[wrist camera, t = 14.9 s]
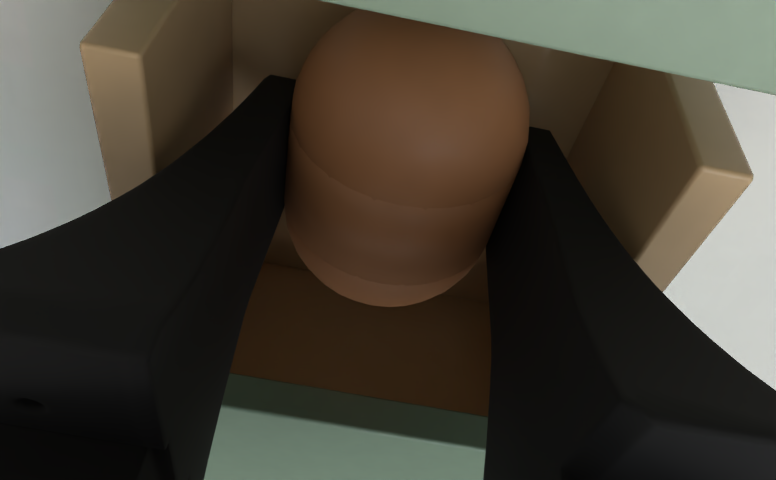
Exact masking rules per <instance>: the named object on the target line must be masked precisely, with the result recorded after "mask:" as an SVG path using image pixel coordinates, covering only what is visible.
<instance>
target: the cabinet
mask: <svg viewBox="0 0 776 480" xmlns="http://www.w3.org/2000/svg"><path fill="white" fill-rule="evenodd" d="M487 426H488V416H483V415H477V414H471V413H465V412H459V411H453V410H447V409H442V408H436V407H430V406H424V405H418V404H412V403H406V402H400V401H394V400H388V399H383V398H377V397H371V396H365V395H359V394H353V393H347V392H341V391H335V390H330V389H324V388H318V387H312V386H306V385H300V384H294V383H288V382H282V381H276V380H271V379H265V378H259V377H253V376H247V375H241V374H235V373H229V377H228V381H227V385H226V389H225V393H224V397H223V401H222V405H221V409H220V413H219V417H218V421H217V426H216V430H215V434H214V438H213V442H212V446H211V450H210V455H209V459H208V463H207V468H206V472H205V477H204V480H483V476H484V464H485V453H486V440H487Z"/></svg>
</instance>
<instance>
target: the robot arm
mask: <svg viewBox="0 0 776 480" xmlns="http://www.w3.org/2000/svg"><path fill="white" fill-rule="evenodd" d="M295 83H296V79H291V78H286V77H281V76H276V75H271V74H270V75H269V76H267V77H266V78H264V79H263V80H262V82H261V83H260V84H259V85H258V86H257V87H256V88H255V89H254V90H253V91H252V92H251V94H250V95H249V96H248V97H247V98H246V99H245V100H244V101H243V102H242V103H241V104H240V105H239V106H238V107H237V108H236V109H235V110H234V111H233V112H232V113H231V114H230V115H228V116H227V117H226V118H225V119H224V120H223V121H222V122H221V123H220V124H219V125H218V126H216V127H215V128H214V129H213V130H212V131H211V132H210V133H209V134H208V135H206V136H205V137H204V138H203V139H202V140H200V141H199V142H198V143H197V144H195V145H194V146H193V147H192V148H190V149H189V150H188V151H187V152H185V153H184V154H183V155H182V156H180V157H179V158H178V159H176V160H175V161H174V162H172V163H171V164H170V165H168V166H167V167H165V168H164V169H163V170H161V171H160V172H158V173H157V174H155V175H154V176H152V177H151V178H149V179H148V180H146V181H144V182H143V183H141V184H140V185H138V186H137V187H135V188H133V189H132V190H130V191H128V192H126V193H125V194H123V195H121V196H119V197H118V198H116V199H114V200H112V201H110V202H108V203H107V204H105V205H103V206H101V207H99V208H97V209H95V210H93V211H91V212H89V213H87V214H85V215H83V216H81V217H79V218H76V219H74V220H72V221H70V222H68V223H66V224H63V225H61V226H58V227H56V228H54V229H51V230H49V231H47V232H44V233H42V234H39V235H37V236H34V237H32V238H29V239H26V240H24V241H21V242H18V243H15V244H12V245H9V246H6V247H4V248H1V249H0V480H204V477H205V472H206V468H207V463H208V459H209V455H210V450H211V446H212V442H213V438H214V434H215V430H216V426H217V421H218V417H219V413H220V409H221V405H222V401H223V397H224V393H225V389H226V385H227V381H228V377H229V373H230V369H231V365H232V361H233V357H234V353H235V349H236V346H237V342H238V338H239V334H240V330H241V327H242V323H243V319H244V315H245V312H246V309H247V306H248V303H249V300H250V297H251V294H252V291H253V288H254V286H255V283H256V280H257V278H258V275H259V273H260V270H261V267H262V265H263V262H264V259H265V257H266V254H267V252H268V249H269V246H270V244H271V241H272V239H273V236H274V233H275V231H276V228H277V225H278V223H279V220H280V217H281V215H282V212H283V209H284V206H285V204H284V193H285V179H286V165H287V151H288V137H289V123H290V112H291V105H292V100H293V93H294V88H295ZM486 263H487V280H488V296H489V312H490V328H491V374H490V394H489V411H488V426H487V440H486V453H485V464H484V476H483V480H776V391H775V390H774V389H773V388H771V387H770V386H769V385H767V384H766V383H765V382H763V381H762V380H761V379H759V378H758V377H757V376H755V375H754V374H752V373H751V372H750V371H748V370H747V369H746V368H745V367H743V366H742V365H741V364H740V363H738V362H737V361H736V360H735V359H734V358H732V357H731V356H730V355H729V354H728V353H727V352H725V351H724V350H723V349H722V348H721V347H719V346H718V345H717V344H716V343H715V342H713V341H712V340H711V339H710V338H709V337H708V336H707V335H706V334H705V333H703V332H702V331H701V330H700V329H699V328H698V327H697V326H696V325H695V324H694V323H692V322H691V321H690V320H689V319H688V318H687V317H686V316H685V315H684V314H683V313H682V312H681V311H680V310H679V309H678V308H677V307H676V306H675V305H674V304H673V303H672V302H671V301H670V300H669V299H668V298H667V297H666V296H665V295H664V294H663V293H662V291H661V290H660V289H659V288H658V287H657V286H656V285H655V284H654V283H653V282H652V281H651V279H650V278H649V277H648V276H647V275H646V274H645V272H644V271H643V270H642V269H641V268H640V267H639V265H638V264H637V263H636V262H635V261H634V260H633V258H632V257H631V256H630V255H629V253H628V252H627V251H626V250H625V248H624V247H623V246H622V244H621V243H620V242H619V240H618V239H617V237H616V236H615V235H614V233H613V232H612V231H611V229H610V228H609V226H608V225H607V224H606V222H605V221H604V219H603V218H602V216H601V215H600V213H599V212H598V210H597V209H596V207H595V206H594V204H593V203H592V201H591V200H590V198H589V196H588V195H587V193H586V192H585V190H584V188H583V187H582V185H581V184H580V182H579V180H578V179H577V177H576V175H575V173H574V172H573V170H572V168H571V167H570V165H569V163H568V161H567V160H566V158H565V156H564V154H563V153H562V151H561V149H560V147H559V146H558V144H557V142H556V140H555V138H554V137H553V135H552V133H551V132H550V130H545V129H540V128H535V127H530V126H529V136H528V143H527V147H526V150H525V154H524V157H523V160H522V164H521V166H520V169H519V171H518V173H517V176H516V178H515V180H514V183H513V185H512V187H511V190H510V192H509V194H508V197H507V199H506V201H505V204H504V206H503V208H502V210H501V213H500V215H499V217H498V220H497V222H496V224H495V227H494V229H493V231H492V234H491V236H490V238H489V241H488V243H487V245H486Z"/></svg>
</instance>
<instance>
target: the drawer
mask: <svg viewBox="0 0 776 480" xmlns="http://www.w3.org/2000/svg"><path fill="white" fill-rule="evenodd" d="M357 9H363V10H368V11H373V12H377V13H382V14H387V15H392V16H397V17H401V18H406V19H411V20H416V21H421V22H426V23H430V24H435V25H440V26H445V27H450V28H454V29H459V30H464V31H469V32H474V33H479V34H483V35H488V36H493V37H498V38H500V39H501V40H502V41H503V42H504V43H505V45H506V46H507V47H508V48H509V50H510V52H511V53H512V55H513V57H514V59H515V61H516V63H517V65H518V67H519V69H520V71H521V73H522V75H523V78H524V82H525V86H526V91H527V96H528V101H529V106H530V118H529V126H530V127H535V128H540V129H545V130H550V132H551V133H552V135H553V137H554V138H555V140H556V142H557V144H558V146H559V147H560V149H561V151H562V153H563V154H564V156H565V158H566V160H567V161H568V163H569V165H570V167H571V168H572V170H573V172H574V173H575V175H576V177H577V179H578V180H579V182H580V184H581V185H582V187H583V188H584V190H585V192H586V193H587V195H588V196H589V198H590V200H591V201H592V203H593V204H594V206H595V207H596V209H597V210H598V212H599V213H600V215H601V216H602V218H603V219H604V221H605V222H606V224H607V225H608V226H609V228H610V229H611V231H612V232H613V233H614V235H615V236H616V237H617V239H618V240H619V242H620V243H621V244H622V246H623V247H624V248H625V250H626V251H627V252H628V253H629V255H630V256H631V257H632V258H633V260H634V261H635V262H636V263H637V264H638V265H639V267H640V268H641V269H642V270H643V271H644V272H645V274H646V275H647V276H648V277H649V278H650V279H651V281H652V282H653V283H654V284H655V285H656V286H657V287H658V288H659V289H660V290H661V291H662V292H663V291H664V290H665V289H666V288H667V286H668V285H669V284H670V283H671V281H672V280H673V279H674V278H675V276H676V275H677V274H678V273H679V271H680V270H681V269H682V268H683V266H684V265H685V264H686V263H687V261H688V260H689V259H690V258H691V256H692V255H693V254H694V253H695V252H696V250H697V249H698V248H699V247H700V245H701V244H702V243H703V242H704V240H705V239H706V238H707V237H708V235H709V234H710V233H711V232H712V230H713V229H714V228H715V227H716V225H717V224H718V223H719V222H720V220H721V219H722V218H723V217H724V216H725V214H726V213H727V212H728V211H729V209H730V208H731V207H732V206H733V204H734V203H735V202H736V201H737V199H738V198H739V197H740V196H741V194H742V193H743V192H744V191H745V189H746V188H747V187H748V186H749V184H750V183H751V182H752V180H753V173H752V171H751V169H750V166H749V164H748V162H747V159H746V157H745V155H744V153H743V150H742V148H741V146H740V143H739V141H738V139H737V136H736V134H735V132H734V130H733V127H732V125H731V123H730V120H729V118H728V116H727V113H726V111H725V109H724V107H723V104H722V102H721V100H720V97H719V95H718V93H717V91H716V88H715V86H714V84H713V82H715V83H720V84H724V85H729V86H734V87H739V88H744V89H748V90H753V91H758V92H763V93H768V94H773V95H776V0H113V1H112V3H111V4H110V5H109V6H108V8H107V9H106V10H105V11H104V13H103V14H102V15H101V17H100V18H99V19H98V20H97V22H96V23H95V24H94V25H93V27H92V28H91V29H90V30H89V32H88V33H87V34H86V36H85V37H84V38H83V39H82V41H81V42H80V51H81V56H82V61H83V66H84V71H85V75H86V80H87V85H88V90H89V95H90V99H91V104H92V109H93V114H94V119H95V123H96V128H97V133H98V138H99V143H100V147H101V152H102V157H103V162H104V167H105V171H106V176H107V181H108V186H109V191H110V195H111V200H114V199H116V198H118V197H119V196H121V195H123V194H125V193H126V192H128V191H130V190H132V189H133V188H135V187H137V186H138V185H140V184H141V183H143V182H144V181H146V180H148V179H149V178H151V177H152V176H154V175H155V174H157V173H158V172H160V171H161V170H163V169H164V168H165V167H167V166H168V165H170V164H171V163H172V162H174V161H175V160H176V159H178V158H179V157H180V156H182V155H183V154H184V153H185V152H187V151H188V150H189V149H190V148H192V147H193V146H194V145H195V144H197V143H198V142H199V141H200V140H202V139H203V138H204V137H205V136H206V135H208V134H209V133H210V132H211V131H212V130H213V129H214V128H215V127H216V126H218V125H219V124H220V123H221V122H222V121H223V120H224V119H225V118H226V117H227V116H228V115H230V114H231V113H232V112H233V111H234V110H235V109H236V108H237V107H238V106H239V105H240V104H241V103H242V102H243V101H244V100H245V99H246V98H247V97H248V96H249V95H250V94H251V92H252V91H253V90H254V89H255V88H256V87H257V86H258V85H259V84H260V83H261V82H262V80H263V79H264V78H266V77H267V76H269V75H270V74H271V75H276V76H281V77H286V78H291V79H297V77H298V75H299V73H300V71H301V69H302V67H303V64H304V62H305V60H306V58H307V57H308V55H309V53H310V51H311V50H312V48H313V47H314V46H315V45H316V43H317V42H318V41H319V40H320V39H321V37H322V36H323V35H324V34H325V33H326V32H327V31H328V30H329V29H330V28H331V27H332V26H333V25H335V24H336V23H337V22H339V21H340V20H342V19H343V18H344V17H346V16H347V15H349V14H350V13H352V12H354V11H355V10H357ZM230 373H235V374H241V375H247V376H253V377H259V378H265V379H271V380H276V381H282V382H288V383H294V384H300V385H306V386H312V387H318V388H324V389H330V390H335V391H341V392H347V393H353V394H359V395H365V396H371V397H377V398H383V399H388V400H394V401H400V402H406V403H412V404H418V405H424V406H430V407H436V408H442V409H447V410H453V411H459V412H465V413H471V414H477V415H483V416H488V411H489V394H490V374H491V328H490V312H489V296H488V280H487V263H486V247H485V249H484V251H483V252H482V254H481V256H480V257H479V259H478V260H477V262H476V263H475V264H474V266H473V267H472V268H471V270H470V271H469V272H468V273H467V274H466V275H465V276H464V277H463V278H462V279H461V280H459V281H458V282H457V283H456V284H455V285H453V286H452V287H451V288H449V289H448V290H447V291H445V292H443V293H441V294H439V295H437V296H435V297H433V298H431V299H428V300H425V301H423V302H420V303H416V304H412V305H408V306H398V307H383V306H373V305H368V304H364V303H361V302H357V301H354V300H351V299H349V298H347V297H345V296H342V295H340V294H338V293H337V292H335V291H334V290H332V289H331V288H329V287H328V286H326V285H325V284H324V283H323V282H322V281H320V280H319V279H318V278H317V277H316V276H315V275H314V274H313V273H312V272H311V270H310V269H309V268H308V267H307V266H306V264H305V263H304V262H303V260H302V259H301V257H300V256H299V254H298V253H297V250H296V248H295V245H294V243H293V241H292V238H291V235H290V233H289V230H288V228H287V223H286V215H285V206H284V209H283V212H282V215H281V217H280V220H279V223H278V225H277V228H276V231H275V233H274V236H273V239H272V241H271V244H270V246H269V249H268V252H267V254H266V257H265V259H264V262H263V265H262V267H261V270H260V273H259V275H258V278H257V280H256V283H255V286H254V288H253V291H252V294H251V297H250V300H249V303H248V306H247V309H246V312H245V315H244V319H243V323H242V327H241V330H240V334H239V338H238V342H237V346H236V349H235V353H234V357H233V361H232V365H231V369H230Z"/></svg>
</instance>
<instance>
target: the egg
mask: <svg viewBox="0 0 776 480" xmlns="http://www.w3.org/2000/svg"><path fill="white" fill-rule="evenodd" d="M529 118H530V106H529V101H528V96H527V91H526V86H525V82H524V78H523V75H522V73H521V71H520V69H519V67H518V65H517V63H516V61H515V59H514V57H513V55H512V53H511V52H510V50H509V48H508V47H507V46H506V45H505V43H504V42H503V41H502V40H501V39H500V38H498V37H493V36H488V35H483V34H479V33H474V32H469V31H464V30H459V29H454V28H450V27H445V26H440V25H435V24H430V23H426V22H421V21H416V20H411V19H406V18H401V17H397V16H392V15H387V14H382V13H377V12H373V11H368V10H363V9H357V10H355V11H354V12H352V13H350V14H349V15H347V16H346V17H344V18H343V19H342V20H340V21H339V22H337V23H336V24H335V25H333V26H332V27H331V28H330V29H329V30H328V31H327V32H326V33H325V34H324V35H323V36H322V37H321V39H320V40H319V41H318V42H317V43H316V45H315V46H314V47H313V48H312V50H311V51H310V53H309V55H308V57H307V58H306V60H305V62H304V64H303V67H302V69H301V71H300V73H299V75H298V77H297V79H296V83H295V88H294V93H293V100H292V105H291V112H290V123H289V137H288V151H287V165H286V179H285V193H284V204H285V215H286V223H287V228H288V230H289V233H290V235H291V238H292V241H293V243H294V245H295V248H296V250H297V253H298V254H299V256H300V257H301V259H302V260H303V262H304V263H305V264H306V266H307V267H308V268H309V269H310V270H311V272H312V273H313V274H314V275H315V276H316V277H317V278H318V279H319V280H320V281H322V282H323V283H324V284H325V285H326V286H328V287H329V288H331V289H332V290H334V291H335V292H337V293H338V294H340V295H342V296H345V297H347V298H349V299H351V300H354V301H357V302H361V303H364V304H368V305H373V306H383V307H398V306H408V305H412V304H416V303H420V302H423V301H425V300H428V299H431V298H433V297H435V296H437V295H439V294H441V293H443V292H445V291H447V290H448V289H449V288H451V287H452V286H453V285H455V284H456V283H457V282H458V281H459V280H461V279H462V278H463V277H464V276H465V275H466V274H467V273H468V272H469V271H470V270H471V268H472V267H473V266H474V264H475V263H476V262H477V260H478V259H479V257H480V256H481V254H482V252H483V251H484V249H485V247H486V245H487V243H488V241H489V238H490V236H491V234H492V231H493V229H494V227H495V224H496V222H497V220H498V217H499V215H500V213H501V210H502V208H503V206H504V204H505V201H506V199H507V197H508V194H509V192H510V190H511V187H512V185H513V183H514V180H515V178H516V176H517V173H518V171H519V169H520V166H521V164H522V160H523V157H524V154H525V150H526V147H527V143H528V136H529Z"/></svg>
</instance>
